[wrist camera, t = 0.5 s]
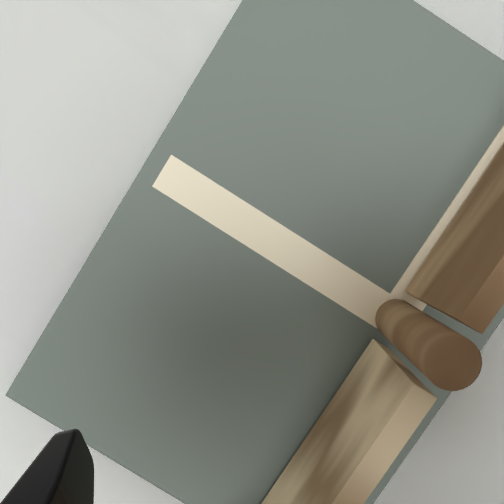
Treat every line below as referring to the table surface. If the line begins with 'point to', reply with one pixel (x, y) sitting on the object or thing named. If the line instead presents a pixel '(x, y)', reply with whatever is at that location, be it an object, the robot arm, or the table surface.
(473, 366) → the fixed fence
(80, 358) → the board
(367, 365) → the hinged panel
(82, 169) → the table surface
